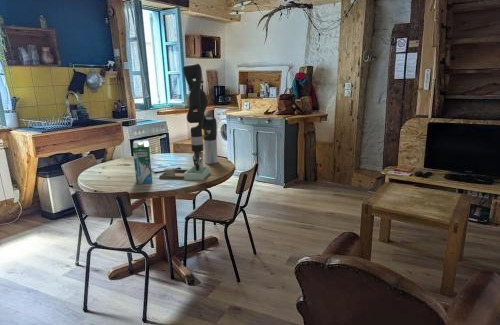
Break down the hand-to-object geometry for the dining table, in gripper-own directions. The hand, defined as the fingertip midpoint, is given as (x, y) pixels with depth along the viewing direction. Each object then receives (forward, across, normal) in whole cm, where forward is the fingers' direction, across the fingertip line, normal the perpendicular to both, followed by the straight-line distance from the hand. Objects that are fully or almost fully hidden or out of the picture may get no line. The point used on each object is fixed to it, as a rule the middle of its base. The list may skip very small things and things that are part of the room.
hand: (198, 169), depth 224 cm
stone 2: (0, 0, 0) cm, 0 cm away
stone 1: (+3, +3, -18) cm, 19 cm away
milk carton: (+4, +17, -29) cm, 34 cm away
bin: (+4, +4, 0) cm, 5 cm away
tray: (+4, +3, -14) cm, 15 cm away
